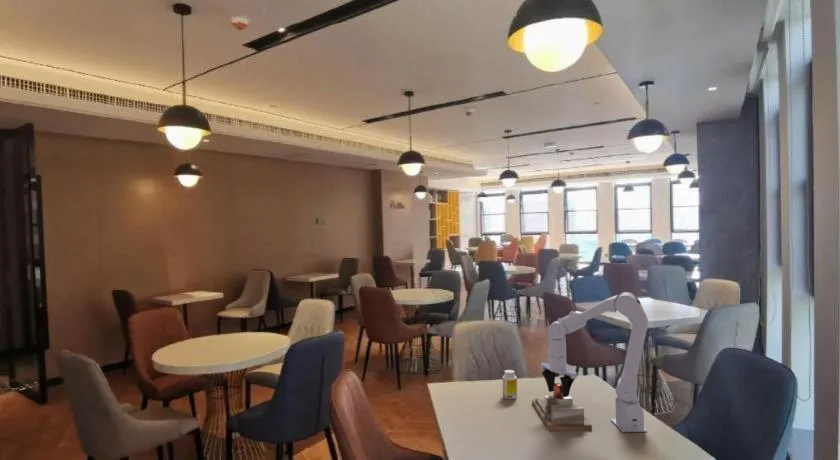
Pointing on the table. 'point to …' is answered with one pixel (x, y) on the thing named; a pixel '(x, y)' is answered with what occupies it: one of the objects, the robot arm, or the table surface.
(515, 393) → the supplement bottle
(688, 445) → the table surface
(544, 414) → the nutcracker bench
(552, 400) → the sliding jaw
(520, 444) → the table surface
